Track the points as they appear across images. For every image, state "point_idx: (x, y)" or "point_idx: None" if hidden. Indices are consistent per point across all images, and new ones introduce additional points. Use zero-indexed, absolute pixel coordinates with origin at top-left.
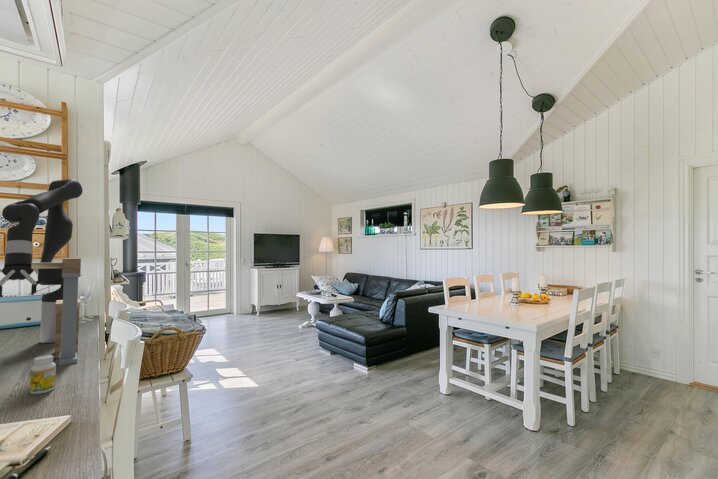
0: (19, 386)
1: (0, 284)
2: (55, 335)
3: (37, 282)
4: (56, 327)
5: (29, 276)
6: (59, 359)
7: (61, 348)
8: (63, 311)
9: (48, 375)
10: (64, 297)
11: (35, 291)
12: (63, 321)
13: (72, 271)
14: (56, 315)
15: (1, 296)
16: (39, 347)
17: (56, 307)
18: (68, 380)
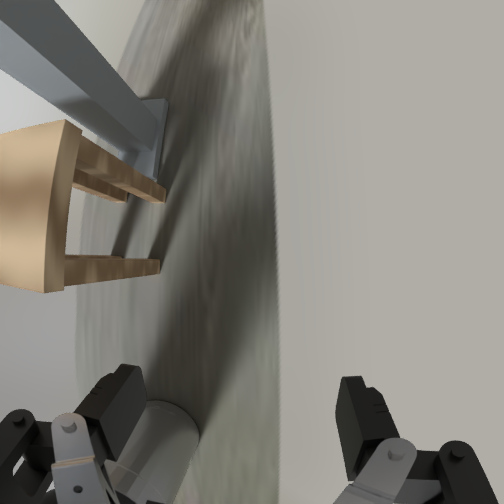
0: (245, 16)
1: (383, 451)
2: (136, 170)
3: (50, 433)
4: (120, 161)
5: (64, 488)
6: (160, 116)
7: (145, 106)
8: (85, 40)
9: None
10: (51, 5)
11: (104, 381)
12: (103, 62)
13: None
14: (95, 144)
15: (340, 386)
16: (198, 370)
17: (74, 128)
18: (174, 9)
